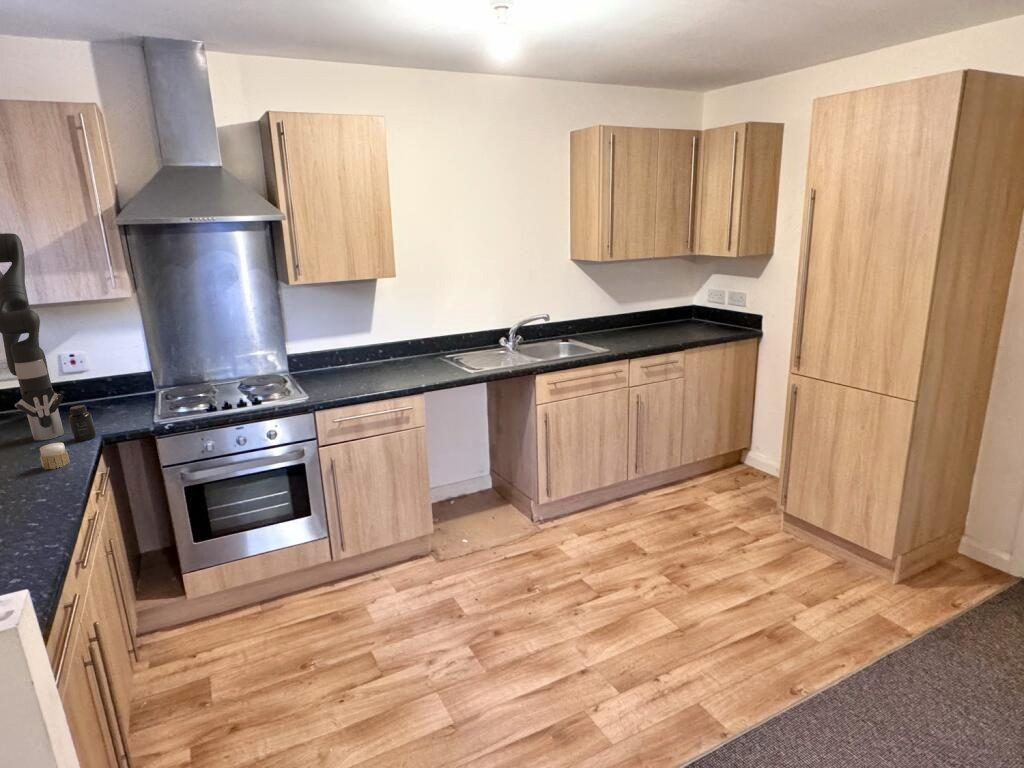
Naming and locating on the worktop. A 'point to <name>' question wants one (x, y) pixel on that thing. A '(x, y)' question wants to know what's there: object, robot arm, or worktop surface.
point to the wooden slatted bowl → (55, 461)
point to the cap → (52, 450)
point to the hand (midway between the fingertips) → (46, 427)
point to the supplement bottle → (81, 423)
